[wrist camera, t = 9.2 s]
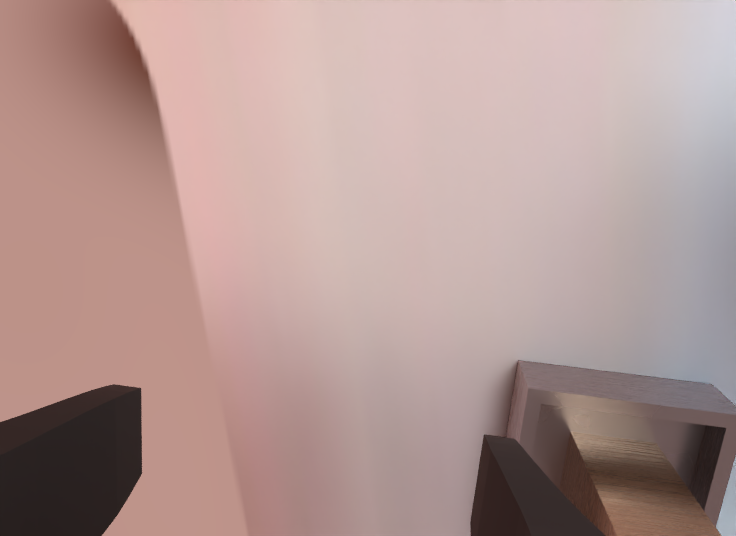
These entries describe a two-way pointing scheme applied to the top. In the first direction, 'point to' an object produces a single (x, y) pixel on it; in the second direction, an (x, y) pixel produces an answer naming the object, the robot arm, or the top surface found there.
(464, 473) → the top surface
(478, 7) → the top surface
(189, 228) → the top surface
